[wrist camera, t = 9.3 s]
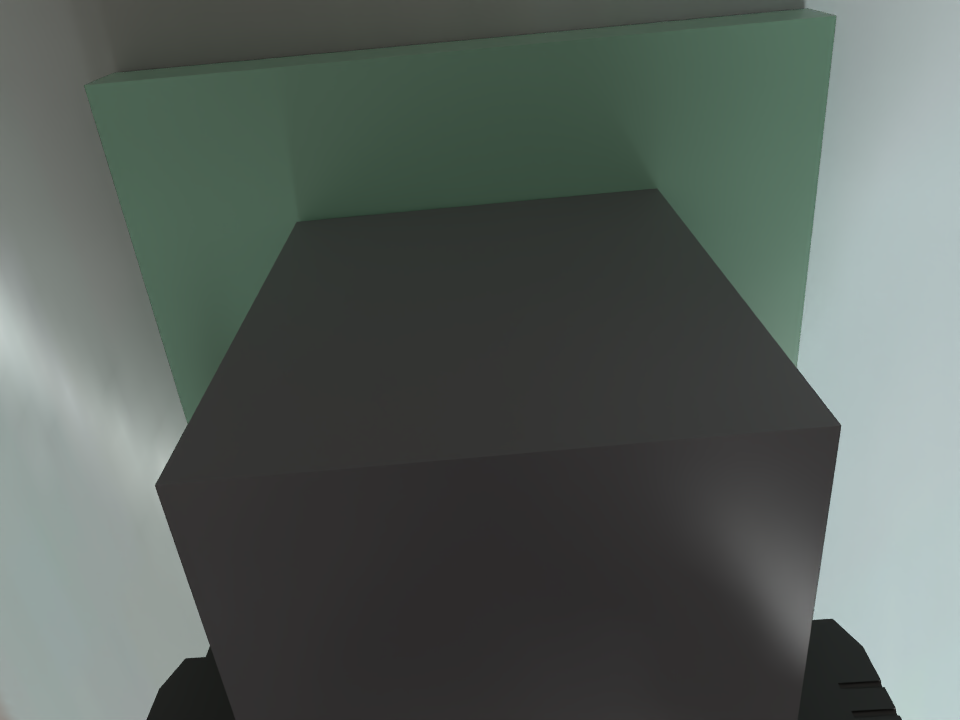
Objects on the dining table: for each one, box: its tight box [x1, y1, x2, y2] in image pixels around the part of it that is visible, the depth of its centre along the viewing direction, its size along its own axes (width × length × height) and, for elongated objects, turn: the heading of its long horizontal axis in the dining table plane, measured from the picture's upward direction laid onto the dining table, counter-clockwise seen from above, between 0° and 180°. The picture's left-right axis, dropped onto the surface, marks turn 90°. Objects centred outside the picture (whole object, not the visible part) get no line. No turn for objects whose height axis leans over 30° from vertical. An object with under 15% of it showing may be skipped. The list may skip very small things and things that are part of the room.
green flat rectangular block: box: [84, 8, 836, 423], centre depth 14 cm, size 10×16×2 cm, turn 5°
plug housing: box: [155, 188, 841, 720], centre depth 11 cm, size 5×12×6 cm, turn 5°
